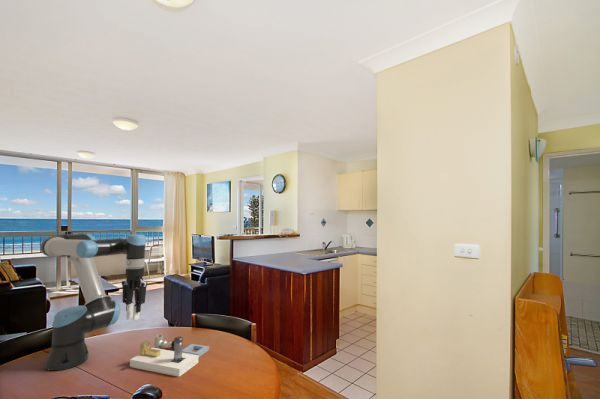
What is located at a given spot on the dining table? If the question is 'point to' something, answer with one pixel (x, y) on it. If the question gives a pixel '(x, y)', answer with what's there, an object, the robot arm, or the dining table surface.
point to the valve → (162, 342)
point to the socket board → (164, 362)
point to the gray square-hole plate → (200, 348)
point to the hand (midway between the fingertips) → (132, 318)
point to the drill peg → (178, 349)
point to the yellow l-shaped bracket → (148, 349)
